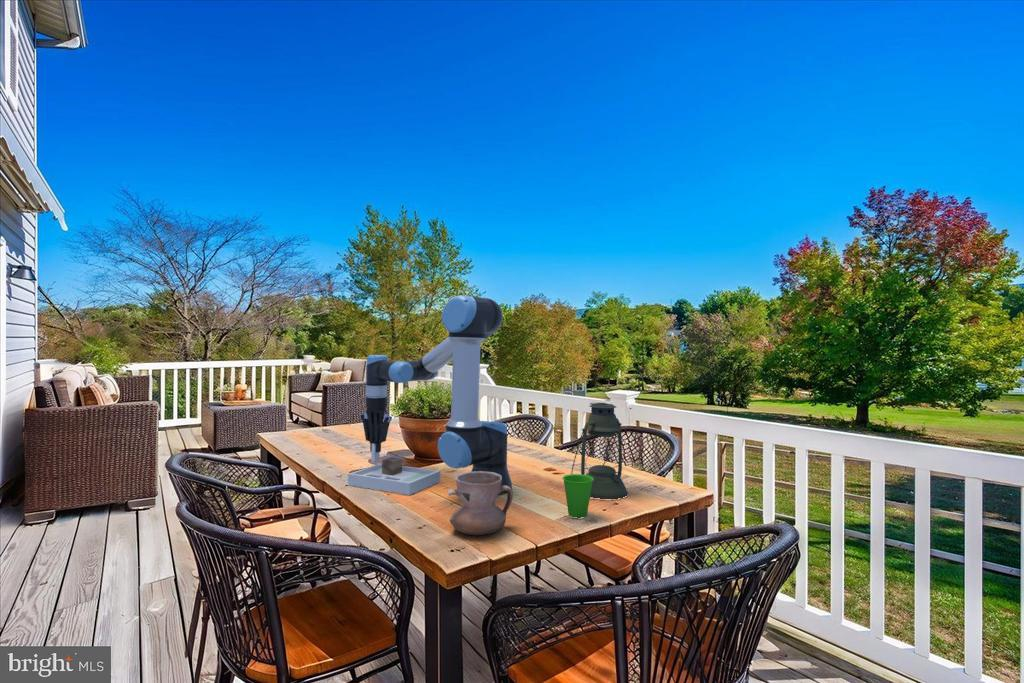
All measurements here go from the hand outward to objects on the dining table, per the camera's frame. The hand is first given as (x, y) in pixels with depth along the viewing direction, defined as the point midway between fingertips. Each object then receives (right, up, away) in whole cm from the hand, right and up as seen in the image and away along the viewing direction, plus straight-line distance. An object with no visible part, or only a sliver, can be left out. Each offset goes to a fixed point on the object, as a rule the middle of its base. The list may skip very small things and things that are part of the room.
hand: (375, 460), depth 184 cm
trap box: (+9, -6, -8) cm, 14 cm away
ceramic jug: (+42, -6, -51) cm, 66 cm away
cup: (+69, -7, -40) cm, 80 cm away
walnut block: (+7, -4, -3) cm, 9 cm away
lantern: (+80, -7, -16) cm, 82 cm away
